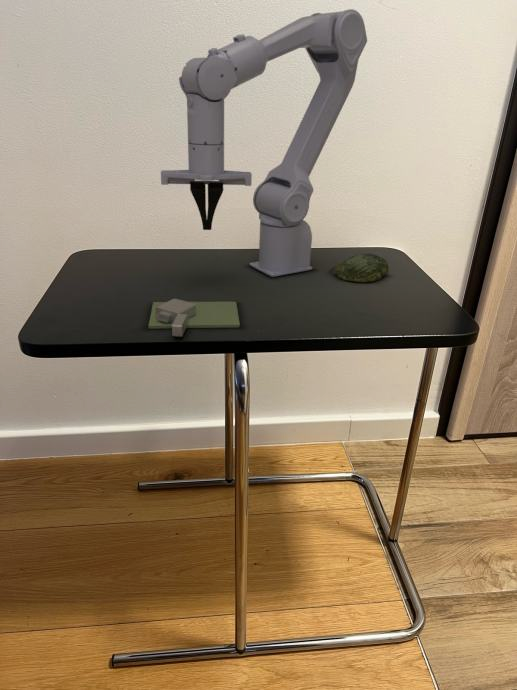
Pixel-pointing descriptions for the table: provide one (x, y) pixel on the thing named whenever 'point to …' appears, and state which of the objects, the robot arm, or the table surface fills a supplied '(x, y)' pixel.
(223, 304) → the mat
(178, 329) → the lighter
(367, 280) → the green rounded dome
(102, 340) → the table surface
